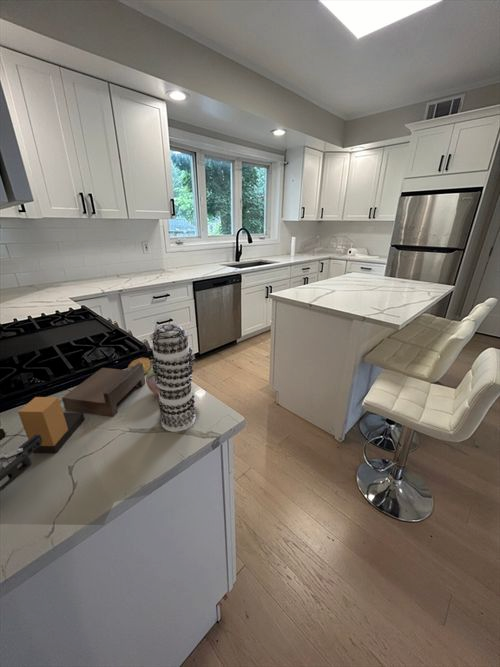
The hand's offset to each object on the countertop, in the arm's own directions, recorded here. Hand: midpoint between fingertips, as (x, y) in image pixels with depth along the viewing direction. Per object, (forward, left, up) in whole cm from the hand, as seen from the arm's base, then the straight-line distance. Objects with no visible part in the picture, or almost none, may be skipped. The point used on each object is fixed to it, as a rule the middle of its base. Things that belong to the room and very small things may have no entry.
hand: (21, 434), depth 55 cm
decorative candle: (+25, +18, -8) cm, 31 cm away
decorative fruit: (+16, +28, -8) cm, 33 cm away
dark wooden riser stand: (+1, +24, -7) cm, 25 cm away
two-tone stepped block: (0, +8, -7) cm, 11 cm away
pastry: (+2, +39, -8) cm, 40 cm away
